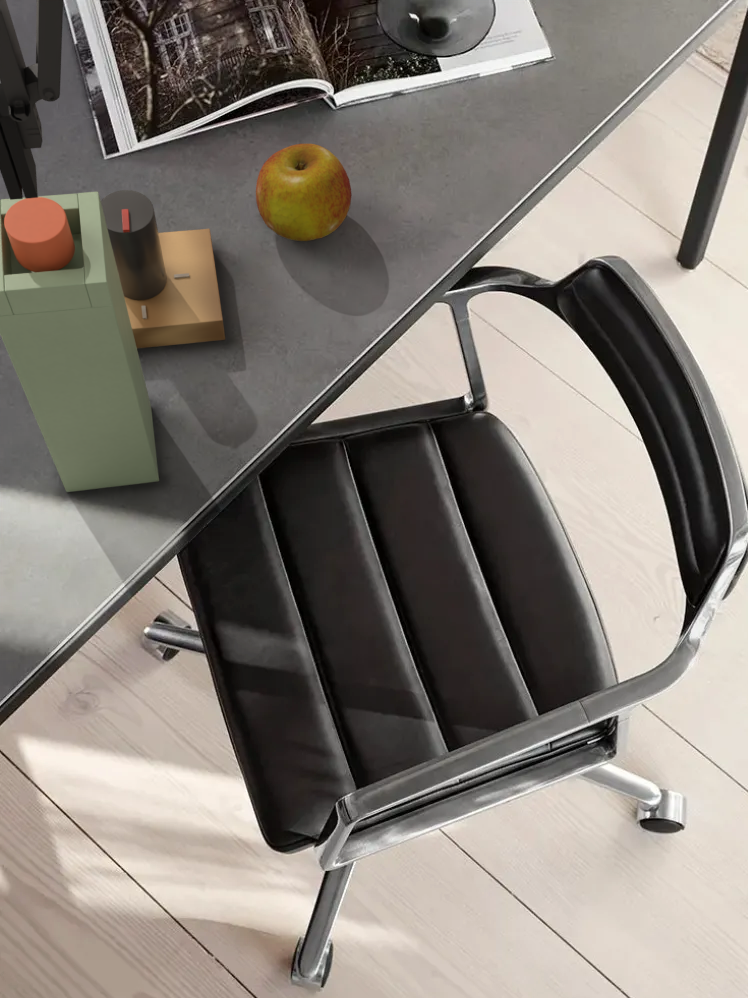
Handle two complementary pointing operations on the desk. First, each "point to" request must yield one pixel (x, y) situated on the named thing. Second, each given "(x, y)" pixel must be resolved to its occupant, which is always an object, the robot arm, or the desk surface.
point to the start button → (39, 234)
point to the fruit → (303, 192)
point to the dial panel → (181, 295)
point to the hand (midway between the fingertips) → (23, 182)
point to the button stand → (79, 355)
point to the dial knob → (135, 243)
